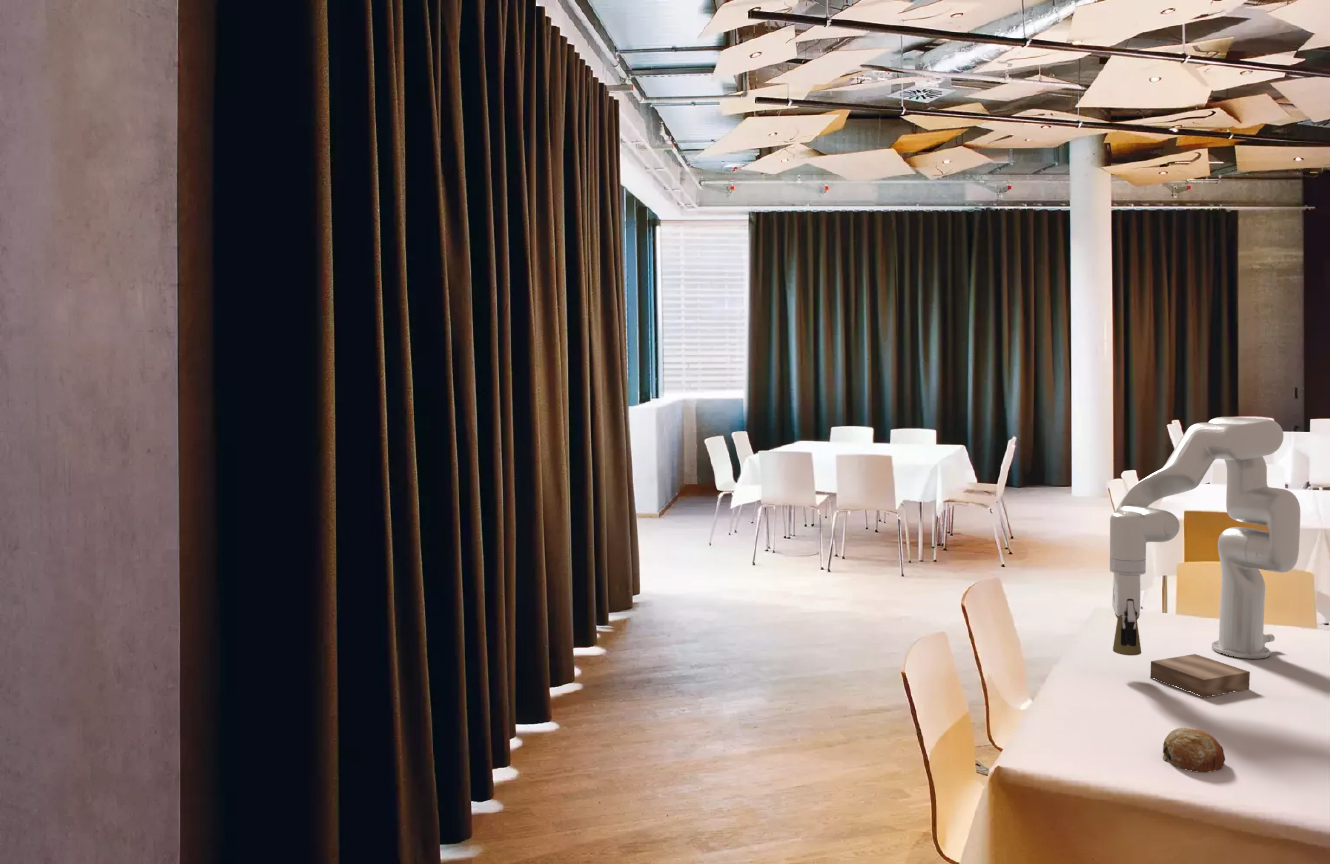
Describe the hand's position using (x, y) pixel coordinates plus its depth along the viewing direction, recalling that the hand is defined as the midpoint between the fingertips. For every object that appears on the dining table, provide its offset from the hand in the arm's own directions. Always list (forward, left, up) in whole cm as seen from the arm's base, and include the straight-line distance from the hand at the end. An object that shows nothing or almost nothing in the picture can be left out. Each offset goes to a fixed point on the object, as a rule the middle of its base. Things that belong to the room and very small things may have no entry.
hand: (1127, 641), depth 223 cm
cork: (0, 0, -3) cm, 3 cm away
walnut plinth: (-11, +10, -8) cm, 17 cm away
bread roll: (+26, +40, -9) cm, 49 cm away
